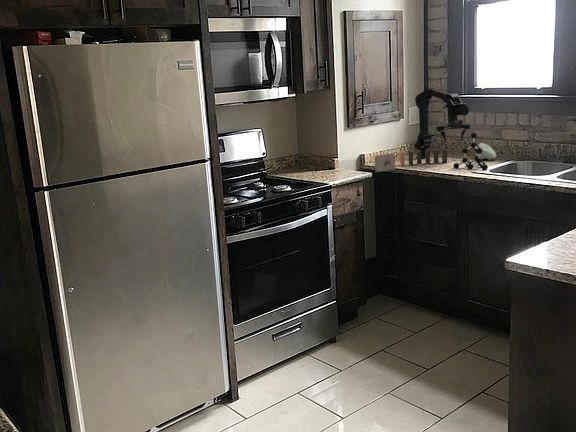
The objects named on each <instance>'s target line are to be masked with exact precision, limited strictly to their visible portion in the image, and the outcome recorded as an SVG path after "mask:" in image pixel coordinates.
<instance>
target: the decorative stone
mask: <svg viewBox="0 0 576 432" xmlns="http://www.w3.org/2000/svg"><path fill="white" fill-rule="evenodd" d="M477 146H479V147H480V148H481V149H482V153H481V154H480V158H481V159H482V160H488V161H493V160H494V159H495V158H497V153H496V151H495V150H494V149H493V148H492V147H491V146H490V145H488V144H486V143H484V142H480V143H479V144H477Z"/></svg>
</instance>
